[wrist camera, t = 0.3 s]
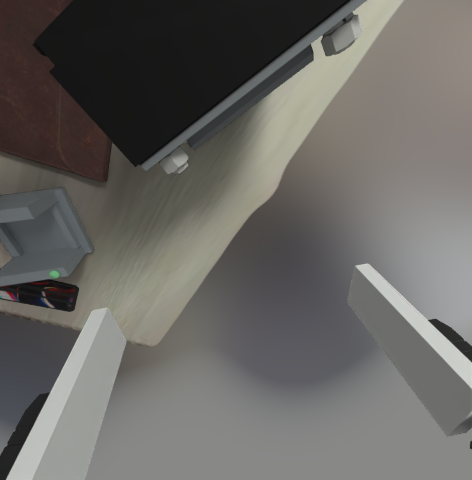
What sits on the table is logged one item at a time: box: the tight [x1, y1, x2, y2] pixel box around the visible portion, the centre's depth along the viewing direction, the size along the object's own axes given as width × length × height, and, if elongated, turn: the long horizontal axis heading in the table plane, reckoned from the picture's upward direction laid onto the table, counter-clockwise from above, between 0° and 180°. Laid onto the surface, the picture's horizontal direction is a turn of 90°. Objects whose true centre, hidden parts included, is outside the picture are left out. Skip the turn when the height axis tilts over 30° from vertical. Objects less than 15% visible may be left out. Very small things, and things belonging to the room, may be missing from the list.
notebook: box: [0, 0, 112, 182], centre depth 27 cm, size 15×20×2 cm
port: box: [0, 188, 94, 286], centre depth 33 cm, size 11×12×7 cm
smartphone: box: [0, 279, 79, 312], centre depth 42 cm, size 7×1×15 cm
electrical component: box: [32, 0, 367, 175], centre depth 21 cm, size 18×10×20 cm, turn 123°
